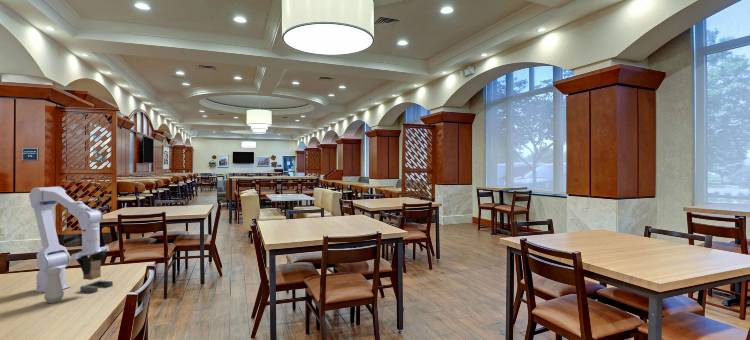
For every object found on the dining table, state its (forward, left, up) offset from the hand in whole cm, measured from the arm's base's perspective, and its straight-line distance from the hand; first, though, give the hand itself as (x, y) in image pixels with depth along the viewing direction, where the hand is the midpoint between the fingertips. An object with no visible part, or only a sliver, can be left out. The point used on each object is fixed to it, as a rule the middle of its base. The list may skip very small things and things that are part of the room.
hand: (91, 272), depth 151 cm
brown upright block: (0, 0, -2) cm, 2 cm away
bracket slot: (-2, +5, -9) cm, 11 cm away
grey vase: (-6, -10, -9) cm, 15 cm away
